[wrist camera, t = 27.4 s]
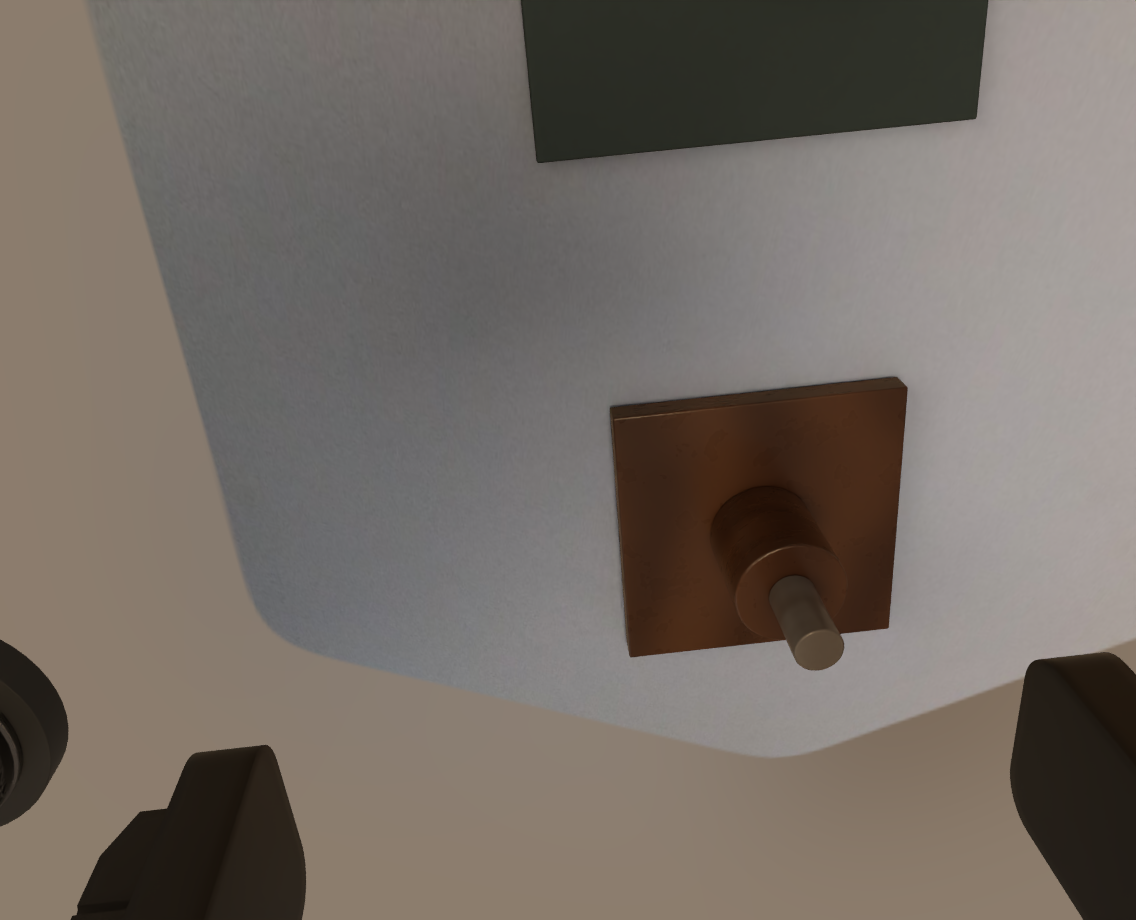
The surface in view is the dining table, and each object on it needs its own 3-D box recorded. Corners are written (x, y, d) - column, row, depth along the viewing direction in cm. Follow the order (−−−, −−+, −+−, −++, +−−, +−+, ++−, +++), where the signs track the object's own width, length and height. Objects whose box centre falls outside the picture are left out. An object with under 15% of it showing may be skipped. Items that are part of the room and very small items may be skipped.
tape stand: (626, 641, 44) (657, 795, 36) (609, 407, 39) (640, 521, 30) (879, 613, 44) (970, 759, 36) (897, 376, 39) (1008, 481, 31)
